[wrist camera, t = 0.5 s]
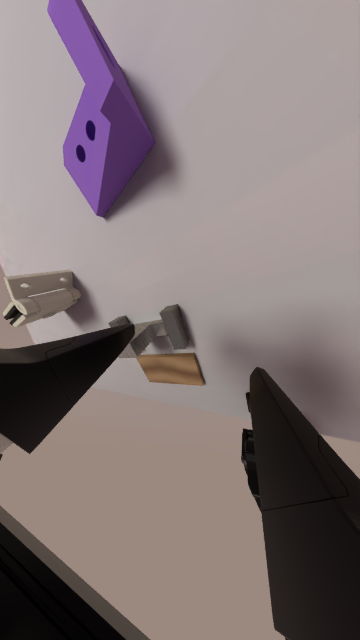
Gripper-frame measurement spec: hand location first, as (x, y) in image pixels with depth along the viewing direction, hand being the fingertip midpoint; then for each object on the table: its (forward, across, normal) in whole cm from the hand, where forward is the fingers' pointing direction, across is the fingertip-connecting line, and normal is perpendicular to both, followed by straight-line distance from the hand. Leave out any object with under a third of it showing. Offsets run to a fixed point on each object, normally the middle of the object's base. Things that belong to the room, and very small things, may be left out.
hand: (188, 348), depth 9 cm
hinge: (+14, +34, +8) cm, 38 cm away
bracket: (+14, +18, -15) cm, 27 cm away
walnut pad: (+14, +5, +21) cm, 26 cm away
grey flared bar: (+14, +10, +10) cm, 20 cm away
